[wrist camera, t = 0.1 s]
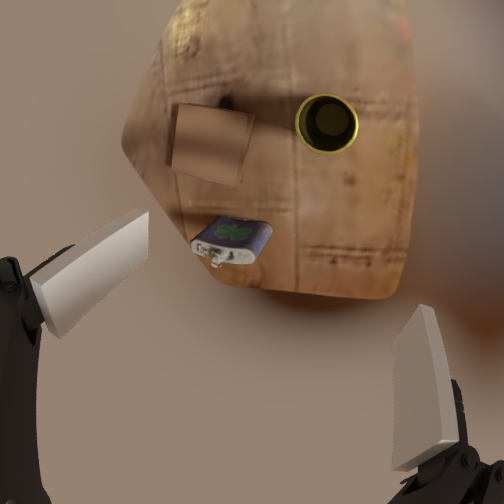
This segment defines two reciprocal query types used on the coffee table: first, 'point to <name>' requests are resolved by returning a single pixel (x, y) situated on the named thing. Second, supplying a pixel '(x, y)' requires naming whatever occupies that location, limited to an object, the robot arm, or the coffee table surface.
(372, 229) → the coffee table surface
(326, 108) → the vase
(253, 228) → the flask
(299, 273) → the coffee table surface
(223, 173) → the plinth
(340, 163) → the coffee table surface
